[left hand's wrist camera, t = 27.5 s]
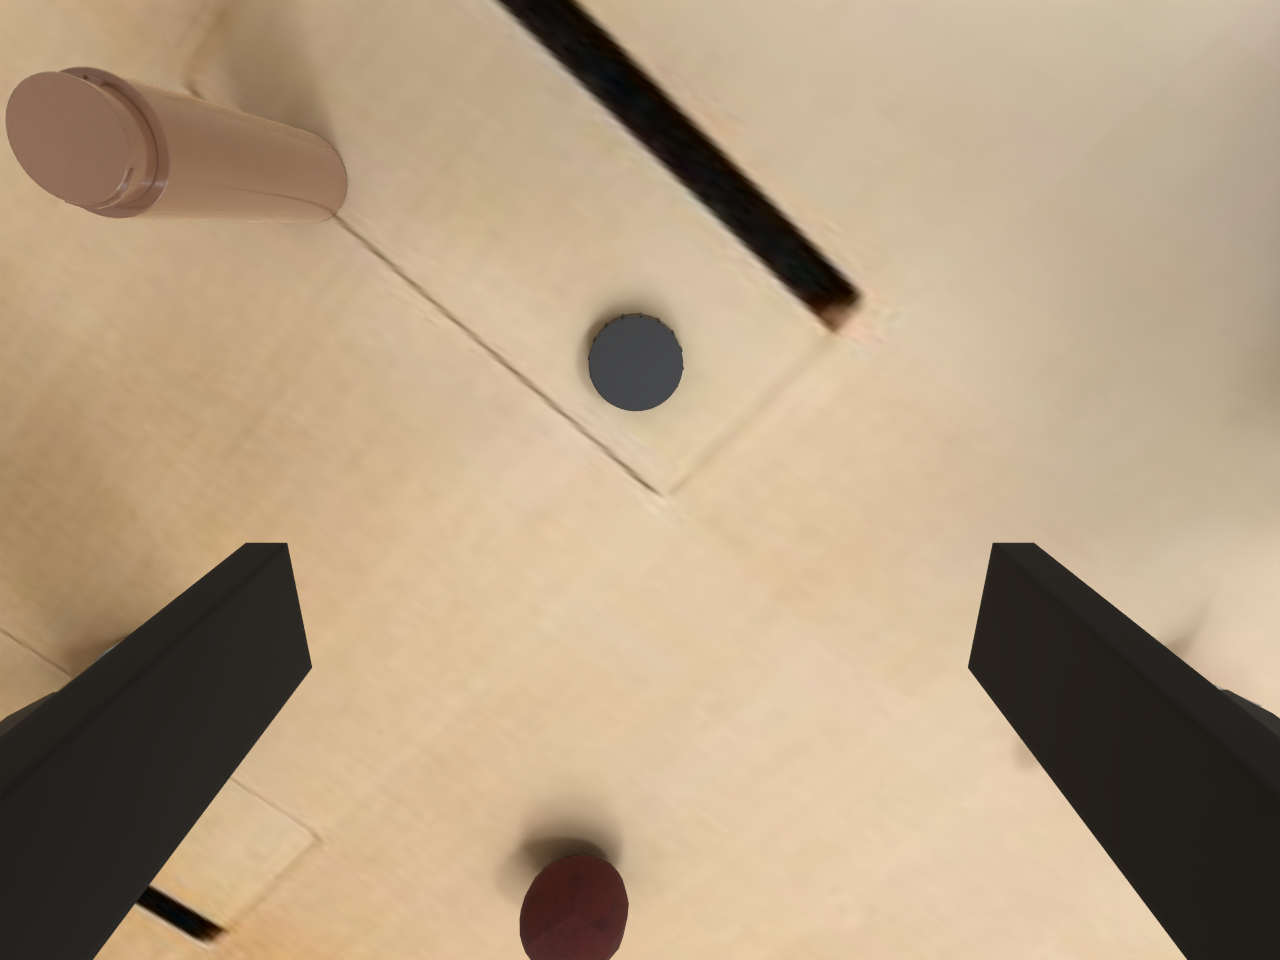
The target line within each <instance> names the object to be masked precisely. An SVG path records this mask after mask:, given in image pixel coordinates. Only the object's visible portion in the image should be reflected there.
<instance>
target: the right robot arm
mask: <svg viewBox="0 0 1280 960" xmlns="http://www.w3.org/2000/svg"><path fill="white" fill-rule="evenodd" d="M124 639H125V638H124ZM124 639H122V640H120V641H118V642H116V643H115V644H114V645H112V646H111V647H110V648H108V649H107V650H106V651H105V652H103V653H102V654H101V655H100V656H99V657H98V658H97V659H96V660H95V661H94V662H93V663H92V664H94V663H95V662H96V661H97V660H99V659H100V658H101V657H102V656H104V655H105V654H106V653H107V652H109V651H110V650H111V649H113V648H114V647H115V646H116V645H118V644H119V643H120V642H121V641H123V640H124ZM92 664H91V665H92ZM91 665H90V666H91ZM90 666H88V667H87V668H89V667H90ZM87 668H86V669H87ZM86 669H84V670H83V671H85V670H86ZM83 671H82V672H83ZM82 672H81V673H82ZM81 673H79V674H78V675H80V674H81ZM78 675H77V676H78ZM77 676H76V677H77ZM76 677H74V678H73V679H75V678H76ZM73 679H72V680H73ZM72 680H71V681H72ZM71 681H69V682H68V683H70V682H71ZM68 683H66V684H65V685H64V686H62V687H61V688H60V689H59V690H61V689H62V688H63V687H65V686H66V685H67V684H68ZM59 690H57V691H56V692H58V691H59Z"/></svg>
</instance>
